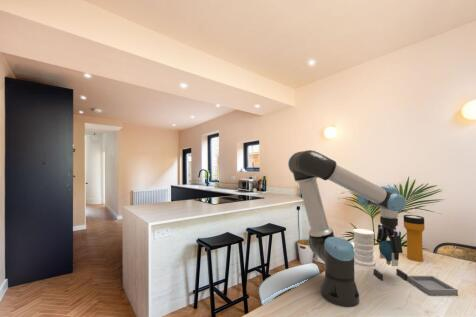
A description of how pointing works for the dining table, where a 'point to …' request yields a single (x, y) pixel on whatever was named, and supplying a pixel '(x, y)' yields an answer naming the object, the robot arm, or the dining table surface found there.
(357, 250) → the decorative container
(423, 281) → the parts tray
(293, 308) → the dining table surface
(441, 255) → the dining table surface
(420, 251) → the flashlight
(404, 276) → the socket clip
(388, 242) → the light bulb
